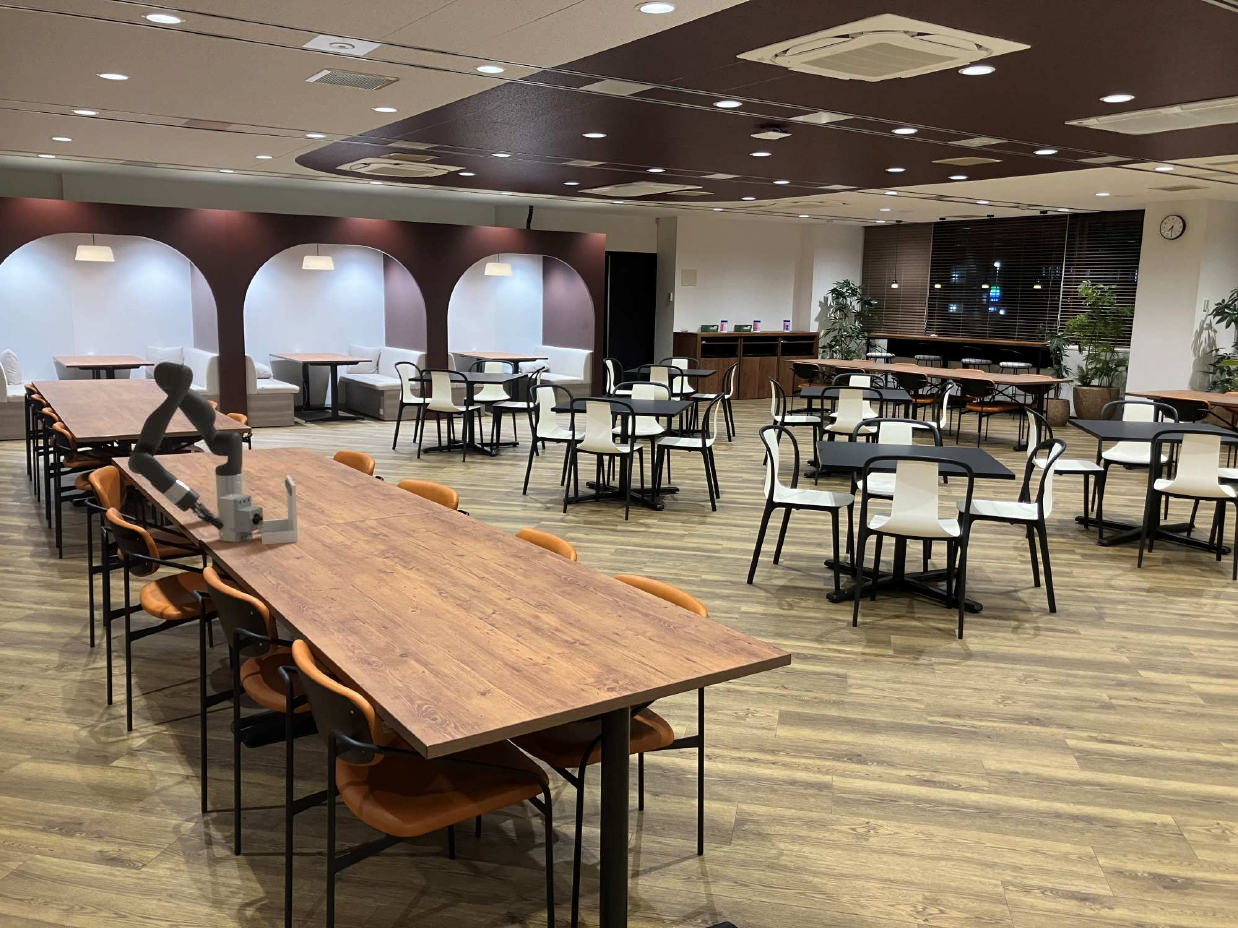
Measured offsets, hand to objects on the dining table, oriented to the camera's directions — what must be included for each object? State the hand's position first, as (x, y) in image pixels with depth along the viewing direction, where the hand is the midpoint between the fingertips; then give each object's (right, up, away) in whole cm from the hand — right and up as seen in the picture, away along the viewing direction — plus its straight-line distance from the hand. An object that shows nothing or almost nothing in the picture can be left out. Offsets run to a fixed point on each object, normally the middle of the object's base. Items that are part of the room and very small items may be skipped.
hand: (221, 527), depth 341 cm
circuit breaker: (+6, -5, +4) cm, 9 cm away
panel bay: (+17, -4, +8) cm, 19 cm away
